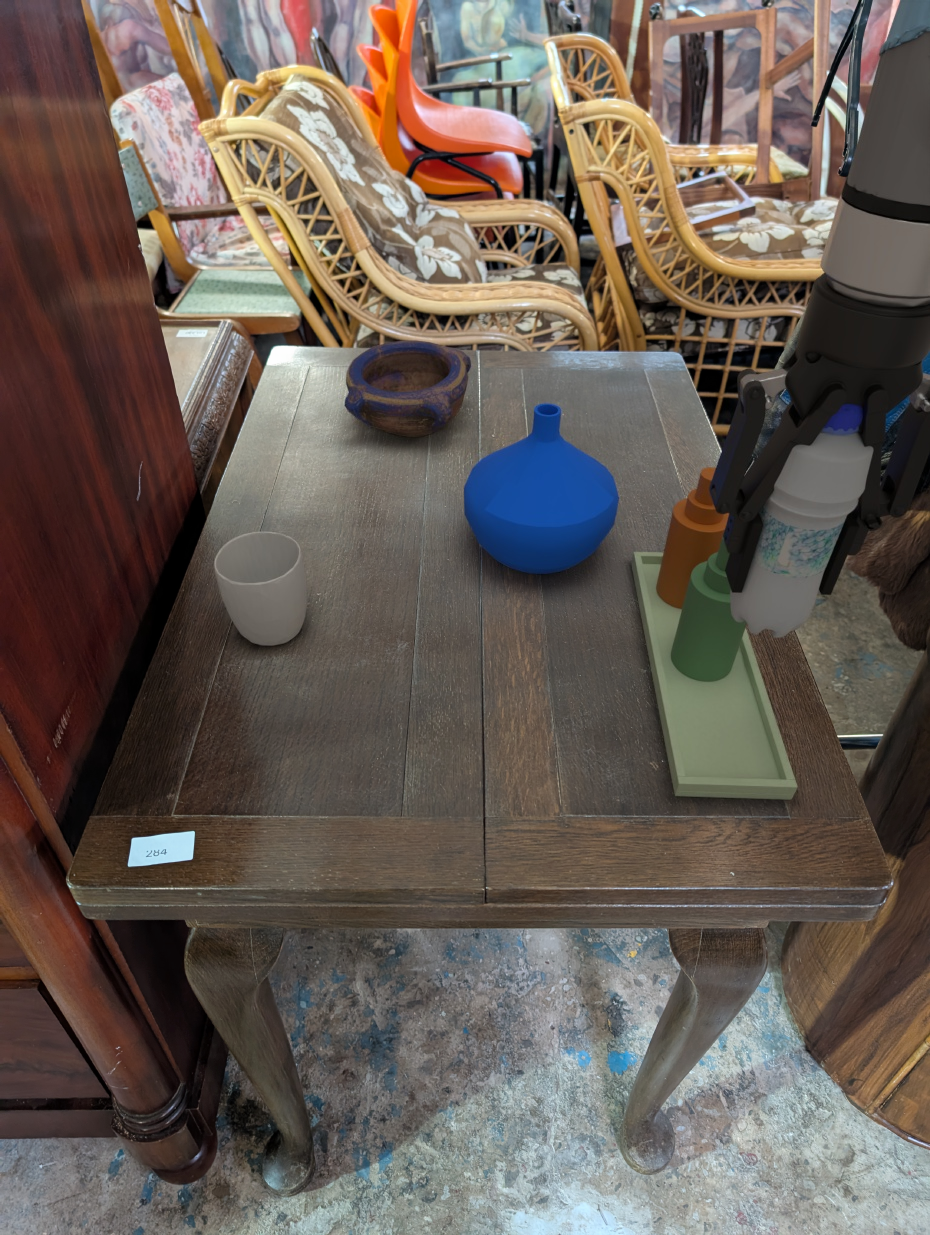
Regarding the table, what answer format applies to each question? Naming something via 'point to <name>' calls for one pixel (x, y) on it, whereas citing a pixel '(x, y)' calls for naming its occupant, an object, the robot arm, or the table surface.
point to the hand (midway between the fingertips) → (777, 582)
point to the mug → (263, 586)
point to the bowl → (407, 386)
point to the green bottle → (707, 623)
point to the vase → (540, 500)
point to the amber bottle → (689, 540)
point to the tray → (711, 711)
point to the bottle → (803, 526)
